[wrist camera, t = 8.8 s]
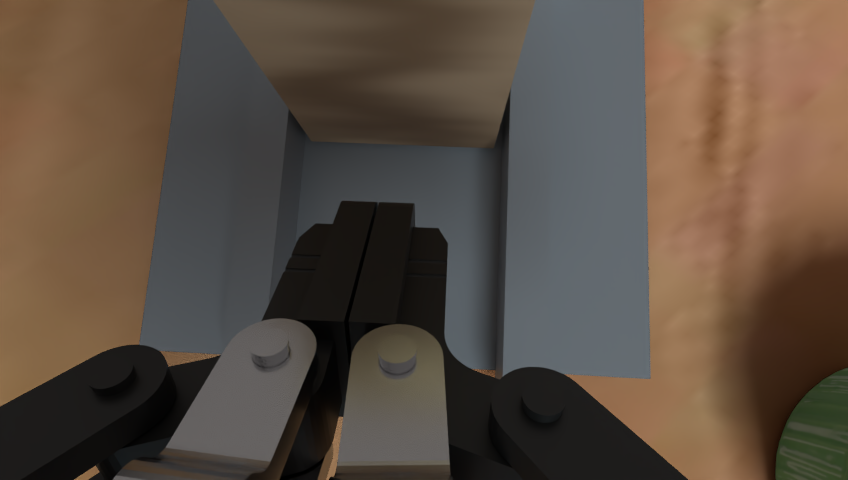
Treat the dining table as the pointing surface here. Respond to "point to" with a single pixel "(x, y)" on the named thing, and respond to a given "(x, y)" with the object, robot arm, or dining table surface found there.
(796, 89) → the dining table surface
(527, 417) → the robot arm
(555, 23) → the mount
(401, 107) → the brown bottle-shaped block
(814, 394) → the ramekin
